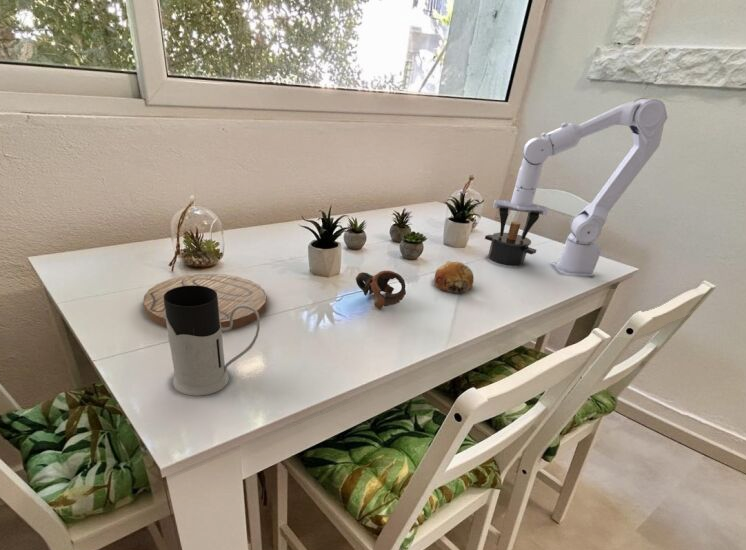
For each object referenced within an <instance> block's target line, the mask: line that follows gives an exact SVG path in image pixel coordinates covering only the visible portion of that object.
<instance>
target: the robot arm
mask: <svg viewBox="0 0 746 550" xmlns="http://www.w3.org/2000/svg"><path fill="white" fill-rule="evenodd" d="M667 120H668V113H667V108H666V105H665V103H664V102H663V101H662V100H661V99H658V98H648V97H640V98H639V97H638V98H637V99H634V100H633V101H629V102H624V103H622V104H620V105H618V106H615V107H613V108H611V109H609V110H607V111H605V112H602V113H600V114H599V115H597V116H594V117H592V118H589V119H588V120H586V121H584V122H582V123H579V124H575V123H573V122H570V123H567V122H563V123H561V124H560V127H558V128H556V129H554V130H551V131H549V132H547V133H546V132H542V133H540V136H541V137H532V138H531V139H529V140H528V141H526V143H525V145H524V147H523V148H522V156H523V157H522V160H521V163H520V164H521V165H520V166H519V169H518V173H517V177H516V181H515V185H514V188H513V192H512V196H511V200H499V199H494V202H493V206H492V208H493V209H495V210H496V209H498V213H499V218H500V219H499V220H500V231H499V233H500V236H503V233H505V232H504V231H505V227H506V223H507V220H508V217H509V211H515V212H522V213H527V216H526V217H527V218H526V221H525V225H524V228H523V230H522V233H521V236H522V237H521V238H522V239H525V237H526V238H527V234H528V233H529V231H530V230H531V229H532V227H533V226H534V224H535V223H536V222H537V221H538V220H539V218H540V215H541V216H547V213H548V210H549V208H548V206H543V205H539V204H534V203H533V202H534V199H535V195H536V191H537V188H538V185H539V181H540V178H541V174H542V169H543V165H544V163H545V162H546V161H547V159H548V158H549V157H554V156H556V155H558V154H561V153H563V152H565V151H567V150H570V149H572V148H575V147H576V146H577V145H578V144H579V143H580V141H581V140H582V139H583V138H586V137H588V136H590V135H591V136H592V135H593V134H595V133H598V132H601V131H604V130H606V129H609V128H610V127H613V126H624V127H625V126H627V127H629V129H630V131H631V134H632V140H633V145H632V147H631V148H630V150H629V151H628V152H627V154H626V155H625V156H624V158H623V159H622V161H621V162H620V163H619V165H618V166H617V167H616V168H615V170H614V171H613V173H612V174H611V175H610V177H609V178H608V180H607V181H606V183H604V185H603V186H602V188H601V189H600V190H599V192H598V193H597V195H596V196H595V197H594V198H593V200H592V201H591V202H590V203H589V204H587V205H586V206H584V208H583V209H582V210H581V211H580V212H579V213H577V214H575V215H574V216H573V217H572V219H571V220H570V223H569V230H570V231H571V232H570V234H569V235H567V238H566V240H565V244H564V246H563V249H562V252H561V255H560V257H559V261H558V262H552V266H554V267H555V268H556V269H557V270H558V271H559V272H560V273H563V274H573V275H581V276H582V275H583V276H585V277H593V276H594V274H593V273H594V271H595V268H596V266H597V264H598V261H599V258H600V257H601V251H602V246H601V244H600V242H597V241H596V240H598V238H599V237H600V235H601V232H602V230H603V227H604V225H605V224H606V223H607V219H608V217H609V216H608V215H609V212H611V210H612V208H613V207H614V206H615V205H616V204H617V202H618V201H619V199H620V198H621V197H622V195H623V194H624V193H625V192H626V190H627V189H628V188H629V186H630V185H631V184H632V182H633V181H634V180H635V179H636V178H637V176H638V175H639V173H640V172H641V171H642V169H643V168H644V167H645V166H646V164H647V163H648V162H649V160H650V159H651V158H652V156H653V155H654V154H655V152H657V150H658V148H659V147H660V144H661V139H662V135H663V132H664V127H665V123H666V122H667Z"/></svg>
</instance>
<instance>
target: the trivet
mask: <svg viewBox="0 0 746 550" xmlns="http://www.w3.org/2000/svg"><path fill="white" fill-rule="evenodd" d="M190 285H196V286H204V287H208V288H211V289H213V290H214V291H216V293H217V297H218V308H219V319H220V323H221V327H222V328H226V327H229V326H230V315H231V312H232V310H233V309H234V308H235V307H236V306H238V305H242V304H244V305H249V306H252V307H253V308H255V309H256V310H257V312H258V314H259V318H260V317H262V315H263V314H264V312H266V310H267V305H268V303H267V302H268V298H267V293H266V290H265V289H264V288H263V287H262V286H261V285H260V284H258V283H256V282H254V281H252V280H250V279H247V278H244V277H241V276H237V275H231V274H224V273H223V274H221V273H196V274H188V275H181V276H177V277H173V278H169V279H166V280H164V281H161V282H159V283H157V284H155V285H153V286H152V287H150V288H149V289H148V290H147V291H146V293H145V294H144V295H143V302H142V304H143V308H144V309H143V310H144V312H145V315H146V316H147V317H148V319H149V320H151V321H152V322H154V324H156V325H159V326H161V327H164V328H167V324H166V318H165V303H164V294H165V293H166V292H167V291H169V290H171V289H173V288H177V287H181V286H190ZM256 320H257V316H256V314H255V312H254V311H252V310H251V309H248V308H239V309H238V310H236V311H235V312H234V314H233V325H232V328H231V329H230V330H233V329H237V328H240V327H242V326H243V327H244V326H245V325H248V324H251V323H252V322H254V321H256Z"/></svg>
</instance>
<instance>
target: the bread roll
mask: <svg viewBox="0 0 746 550" xmlns="http://www.w3.org/2000/svg"><path fill="white" fill-rule="evenodd" d="M474 278H475V277H474V273H473V270H471V268H470V267H469V266H468V265H466V264H464V263H463V262H460V261H451V260H450V261H449V260H448V261H446V262H445V263H444V264H442V265H441V266H439V267H438V268H436V270H435V274H434V286H435V287H436V288H437V289H438V290H440V291H442V292H447V293H449V294H450V293H451V294H452V293H453V294H463V293H465V292H467V291H468V290H471V289H472V288H473V285H474V280H475V279H474Z"/></svg>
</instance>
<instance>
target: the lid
mask: <svg viewBox="0 0 746 550" xmlns="http://www.w3.org/2000/svg"><path fill="white" fill-rule="evenodd" d="M520 228H521V223H520V222H519V221H518V222H517V221H510V226H509V229H508V232H504V233H503V236H500V232H495V233H493V234H491V235H492V239H494V240H495V241H497V242H499V243H502V244H506V245H511V246H528V245H529V246H531V244H532V240H531V239H530V238H528V237H527V236H526V237H525V239H522V238H521V237H522V234H519V231H520ZM529 246H528V247H529Z"/></svg>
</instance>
